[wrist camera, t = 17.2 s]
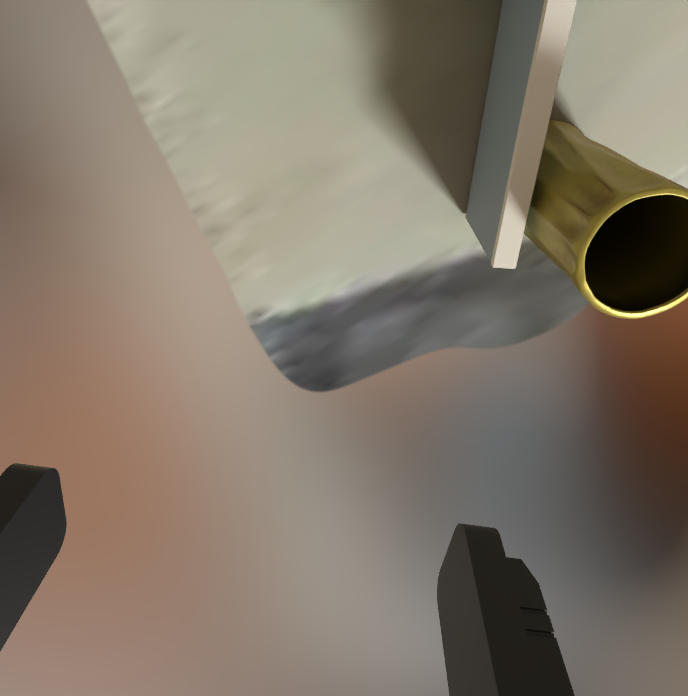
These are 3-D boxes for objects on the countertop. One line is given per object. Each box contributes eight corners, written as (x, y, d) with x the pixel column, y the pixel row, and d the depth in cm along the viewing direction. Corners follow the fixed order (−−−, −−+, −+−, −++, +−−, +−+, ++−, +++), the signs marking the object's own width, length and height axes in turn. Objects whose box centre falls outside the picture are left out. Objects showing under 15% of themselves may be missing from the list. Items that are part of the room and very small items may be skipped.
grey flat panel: (507, -54, 27) (563, -89, 19) (535, -52, 27) (602, -87, 19) (462, 216, 34) (490, 268, 26) (484, 218, 34) (519, 270, 26)
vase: (523, 101, 31) (631, 145, 18) (614, 145, 32) (775, 214, 19) (470, 201, 33) (533, 297, 21) (555, 238, 34) (663, 350, 22)
